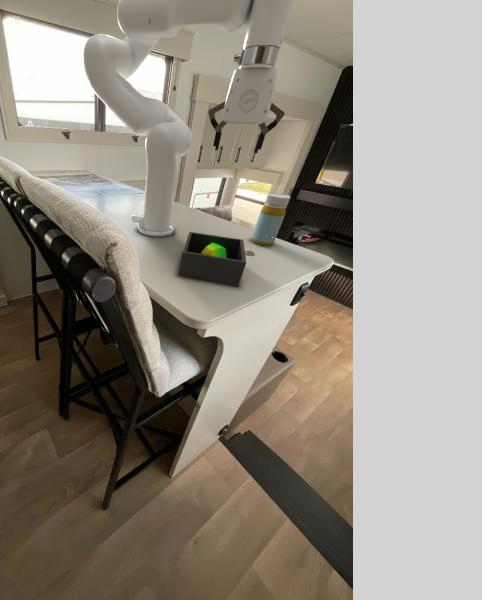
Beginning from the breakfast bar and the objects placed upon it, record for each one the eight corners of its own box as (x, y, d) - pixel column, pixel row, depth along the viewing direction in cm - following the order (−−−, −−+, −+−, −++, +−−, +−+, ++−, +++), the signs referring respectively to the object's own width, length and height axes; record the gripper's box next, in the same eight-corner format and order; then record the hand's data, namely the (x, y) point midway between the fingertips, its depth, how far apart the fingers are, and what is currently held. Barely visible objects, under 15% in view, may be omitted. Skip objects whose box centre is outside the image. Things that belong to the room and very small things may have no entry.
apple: (227, 236, 66) (200, 241, 62) (236, 259, 65) (209, 264, 61) (210, 248, 72) (185, 253, 69) (218, 269, 71) (192, 274, 68)
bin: (178, 275, 64) (182, 252, 60) (185, 252, 76) (189, 231, 72) (237, 287, 61) (246, 262, 57) (236, 261, 72) (243, 239, 68)
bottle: (275, 247, 81) (295, 199, 73) (252, 244, 82) (269, 197, 74) (270, 239, 87) (287, 193, 78) (249, 237, 88) (264, 191, 79)
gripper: (216, 58, 54) (200, 150, 64) (305, 57, 50) (273, 155, 60) (217, 64, 60) (202, 147, 70) (297, 64, 56) (269, 152, 66)
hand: (235, 151), depth 65 cm, fingers open, 9 cm apart
